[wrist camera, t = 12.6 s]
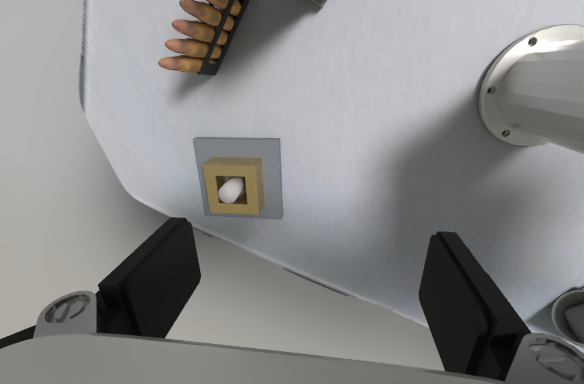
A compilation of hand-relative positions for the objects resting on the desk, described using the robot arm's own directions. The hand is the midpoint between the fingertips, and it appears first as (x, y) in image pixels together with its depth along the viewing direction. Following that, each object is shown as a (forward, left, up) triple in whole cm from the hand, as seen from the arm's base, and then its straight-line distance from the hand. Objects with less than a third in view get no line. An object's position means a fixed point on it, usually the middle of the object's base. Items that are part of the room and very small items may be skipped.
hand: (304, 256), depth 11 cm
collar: (+12, +8, -27) cm, 31 cm away
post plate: (+12, +8, -28) cm, 32 cm away
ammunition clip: (+12, -11, -29) cm, 33 cm away
